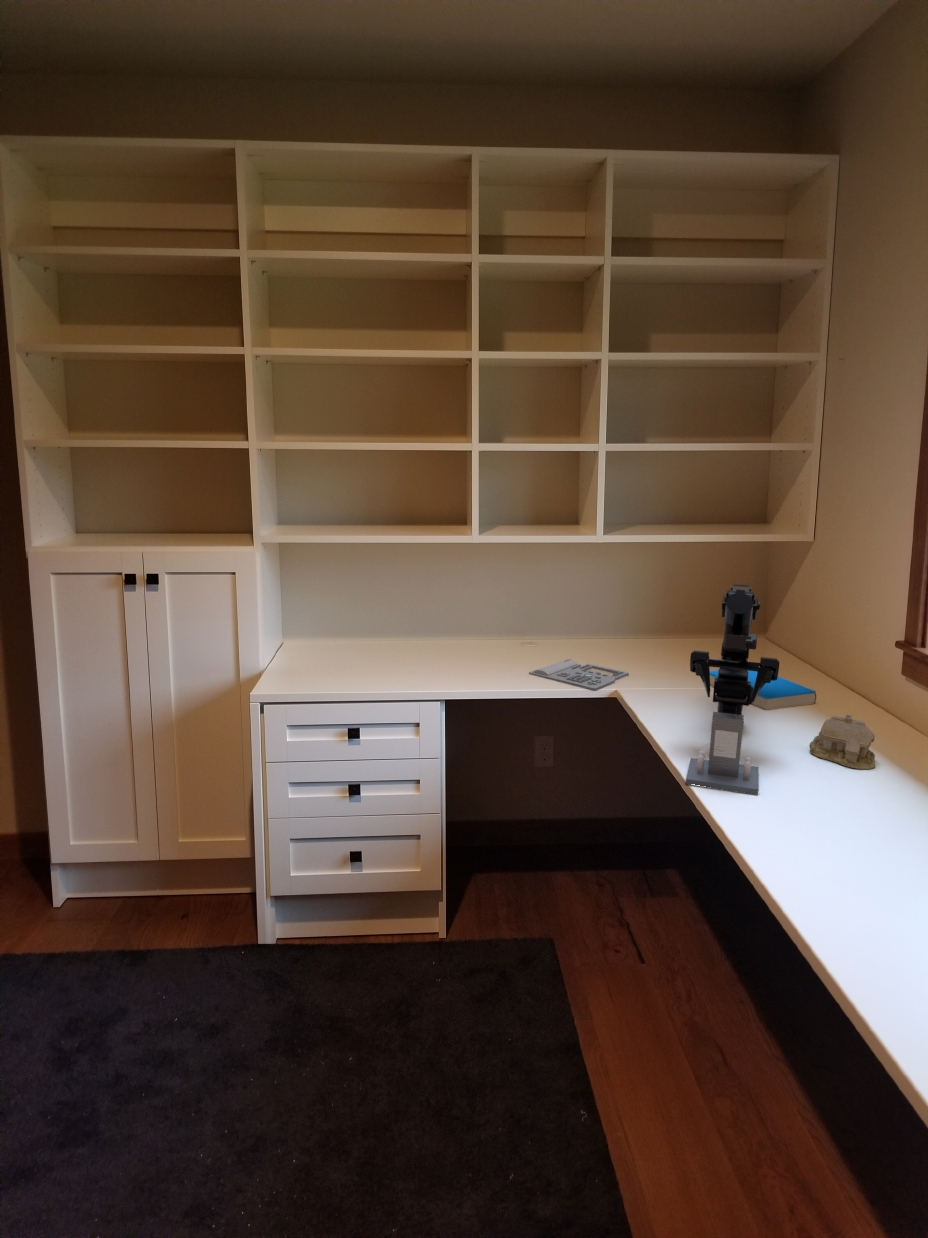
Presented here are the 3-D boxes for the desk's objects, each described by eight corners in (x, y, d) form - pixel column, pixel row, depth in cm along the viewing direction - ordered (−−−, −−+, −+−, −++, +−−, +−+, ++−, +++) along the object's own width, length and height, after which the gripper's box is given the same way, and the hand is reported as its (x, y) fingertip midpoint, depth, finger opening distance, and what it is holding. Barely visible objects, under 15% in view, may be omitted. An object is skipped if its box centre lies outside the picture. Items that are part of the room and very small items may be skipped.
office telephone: (528, 668, 245) (567, 654, 259) (527, 676, 245) (567, 662, 260) (595, 683, 229) (633, 668, 244) (595, 693, 230) (632, 677, 245)
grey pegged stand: (690, 762, 182) (691, 742, 180) (758, 772, 177) (760, 751, 176) (685, 784, 170) (687, 763, 169) (757, 795, 166) (760, 773, 165)
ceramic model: (882, 758, 186) (888, 715, 184) (870, 774, 177) (876, 729, 175) (816, 743, 194) (821, 702, 192) (802, 757, 186) (807, 715, 183)
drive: (708, 767, 176) (713, 711, 173) (738, 772, 174) (743, 715, 171) (707, 774, 173) (712, 716, 170) (737, 778, 171) (743, 720, 168)
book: (767, 697, 215) (705, 670, 238) (765, 713, 216) (704, 684, 239) (818, 690, 222) (753, 664, 244) (816, 706, 223) (751, 678, 245)
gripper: (694, 615, 186) (686, 676, 178) (783, 622, 180) (779, 686, 172) (693, 641, 195) (686, 700, 187) (778, 649, 189) (774, 710, 181)
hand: (730, 699), depth 182 cm, fingers open, 9 cm apart
